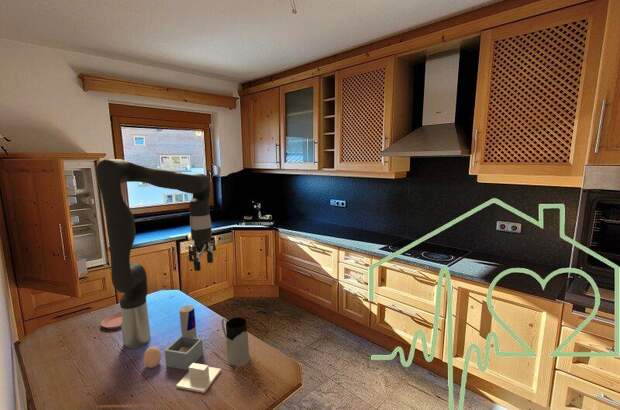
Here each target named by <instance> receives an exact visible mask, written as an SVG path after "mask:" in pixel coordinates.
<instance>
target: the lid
mask: <svg viewBox="0 0 620 410" xmlns="http://www.w3.org/2000/svg"><path fill="white" fill-rule="evenodd" d="M221 372H222V369H221V368H218V367H212V366H209V365H207V364H201V363H197V362H196V363H192V364H191V365H190V366H189V370H188V372H187V373H186V374H185V375H184V376H183V377H182V379H181V380H180V381H179V382H178V383H177V384H176V385H175V386H176V388H177V389H182V390H188V391H192V392H197V393H203V394H205V393H206V391H208V389H209V388H210V386H212V384H213V382H214V381H215V380H216V378H217V377H218V376H219V375H220V373H221Z"/></svg>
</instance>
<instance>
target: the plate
mask: <svg viewBox="0 0 620 410" xmlns="http://www.w3.org/2000/svg"><path fill="white" fill-rule="evenodd" d="M121 323H122V314H121V311H117V312H115V313H112V314H109V315H107V316H106V317H104V318H103V319H102V320H101V322H100V326H101V327H103V328H106V329H110V330H112V329H114V330H115V329H116V330H117V329H121Z"/></svg>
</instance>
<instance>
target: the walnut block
mask: <svg viewBox="0 0 620 410" xmlns="http://www.w3.org/2000/svg"><path fill="white" fill-rule="evenodd" d="M191 348H192V347H181V348H180V350H179V352H185V353H187V352H188V351H189V350H190V349H191Z"/></svg>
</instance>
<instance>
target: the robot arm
mask: <svg viewBox="0 0 620 410" xmlns="http://www.w3.org/2000/svg"><path fill="white" fill-rule="evenodd" d="M95 170H96V171H95V173H96V179H97V182H98V186H99V191H100V193H101V199H102V202H103V203H102V204H103V209H104V214H105V215H104V216H105V223H106V232H107V236H108V243H109V253H110V270H111V271H110V273H111V275H110V277H111V278H110V279H111V282H112V286H113V288H114V290H116V291H117V292H118V293H121V294H122V293H123V295H122V296H121V298H120V300H119V307H120V312H121V314H122V323H121V327H120V329H121V335H122V344H123V345H124V346H125V348H127V349H131V350H133V349H138V348H141V347H144V346H146V345H147V344H148V343H149V342H150V341H151V339H152V336H151V329H150V328H151V327H150V321H149V320H150V319H149V313H148V304H147V303H148V302H147V296H148V291H149V290H148V279H147V272H146V269H145V268H144V266H143V265H141V264H140V263H136V262H133V263H131V262H130V261H131V260H130V259H131V258H130V256H131V252H132V248H133V244H134V242H135V239H136V224H135V223H136V222H135V217H134V214H133V213H132V211H131V209H130V207H129V206H128V204H127V203H126V202H125V199H124V198H123V193H122V187H121V184H125V183H129V182H133V183H134V182H137V183H145V184H148V185H151V186H154V187H157V188H162V189H166V190H167V189H168V190H175V191H179V192H182V193H185V194H192V199H191V200H190V202H189V205H188V206H189V228H190V237H191V238H190V239H192V241H193V244H191V245H188V247H187V248H188V261H189V262H193V269H194V271H195V272H200V271H201V269H202V266H201V258H202V257H203V254H204V253H206V260H207V261H206V262H207V263H208V264H212V263H214V255H213V254H214V252H215V251H216V250H217V248H216V246H217V245H216V240H215V238H216V237H215V236H213V234H212V233H213V232H212V231H213V230H212V219H211V215H210V214H211V213H210V205H209V204H210V196H211V195H210V194H211V182H210V179H209V177H208V176H207V175H205V174H204V173H195V174H187V173H184V172H183V173H182V172H181V171H178V170H172V169H165V168H159V167H158V168H157V167H150V166H144V165H139V164H137V163H133V162H131V161H128V160H125V159H120V158H113V159H110V158H109V159H108V158H107V159H102V160H100V161H99V162H98V164H97V165H96V169H95Z"/></svg>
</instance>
